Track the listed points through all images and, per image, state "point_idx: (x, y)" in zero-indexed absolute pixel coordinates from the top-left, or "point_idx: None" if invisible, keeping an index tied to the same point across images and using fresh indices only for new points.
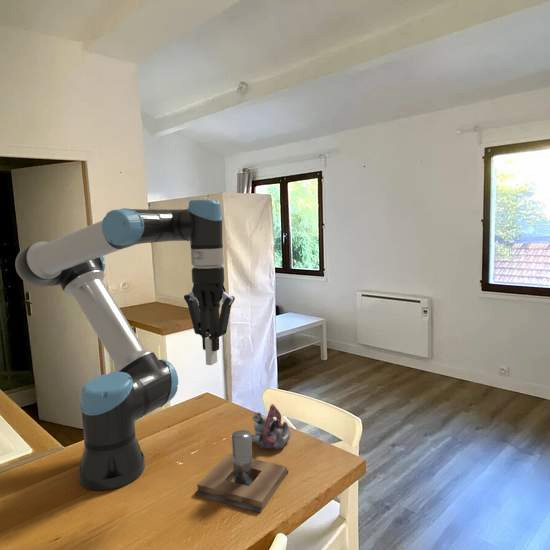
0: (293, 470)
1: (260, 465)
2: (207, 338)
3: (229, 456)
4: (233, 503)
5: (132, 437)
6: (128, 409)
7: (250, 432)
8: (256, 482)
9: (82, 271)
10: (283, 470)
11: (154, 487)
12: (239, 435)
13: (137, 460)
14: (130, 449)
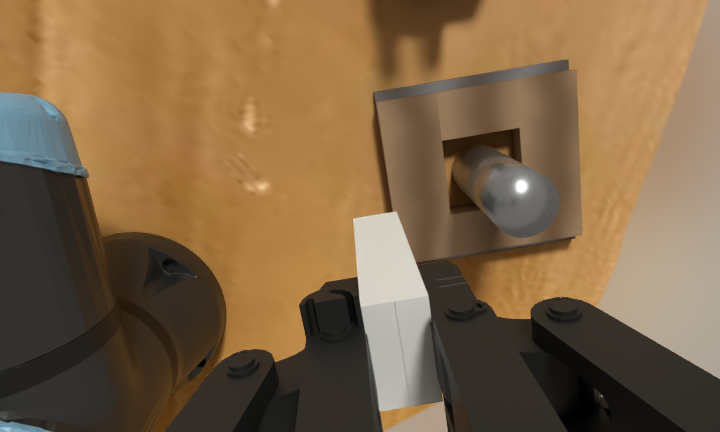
0: (574, 41)
1: (502, 107)
2: (407, 404)
3: (391, 117)
4: (505, 249)
5: (164, 337)
6: (131, 416)
7: (546, 177)
8: None
9: None
10: (575, 93)
11: (290, 295)
12: (520, 213)
13: (203, 304)
14: (184, 336)
